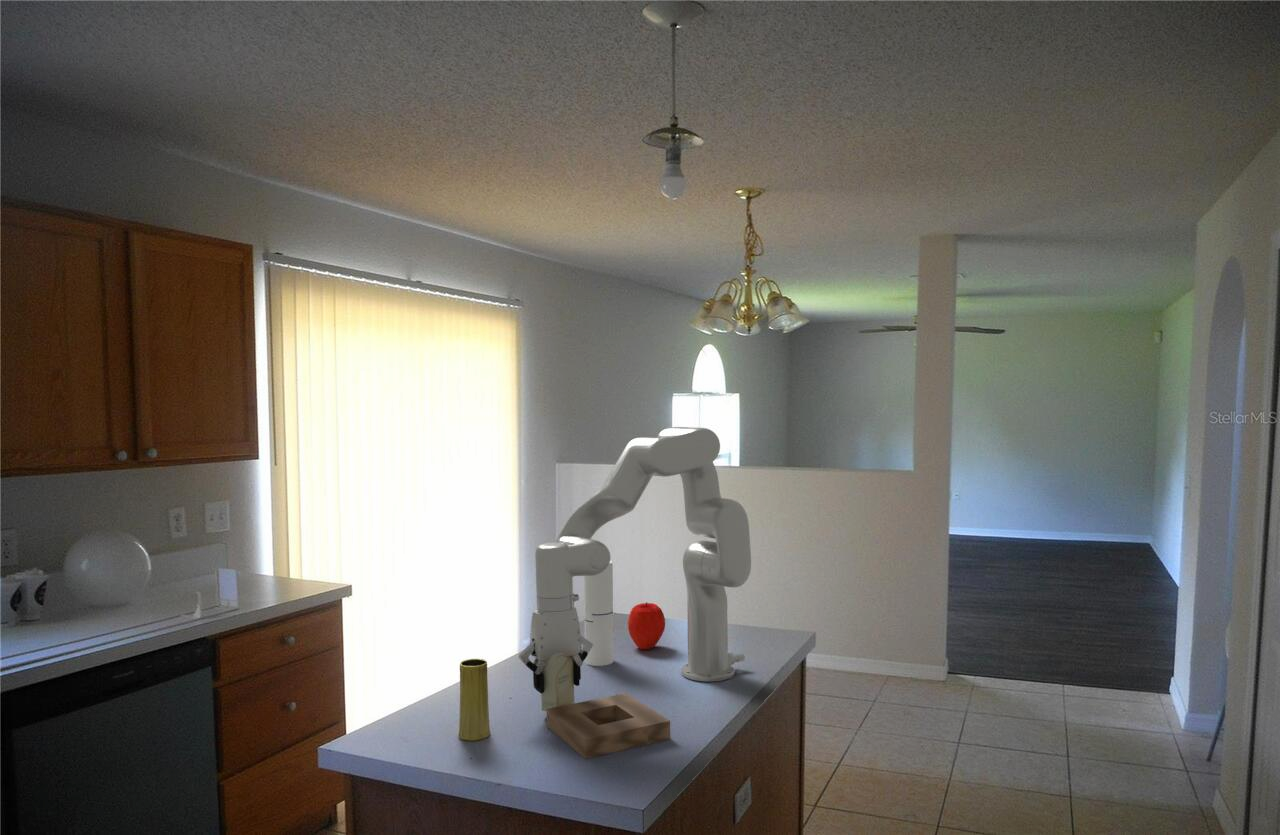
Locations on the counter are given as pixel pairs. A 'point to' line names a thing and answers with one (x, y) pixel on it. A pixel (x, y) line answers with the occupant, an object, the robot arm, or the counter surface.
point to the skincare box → (558, 682)
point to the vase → (473, 700)
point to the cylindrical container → (599, 616)
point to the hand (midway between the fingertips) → (557, 687)
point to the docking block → (607, 725)
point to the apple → (646, 625)
